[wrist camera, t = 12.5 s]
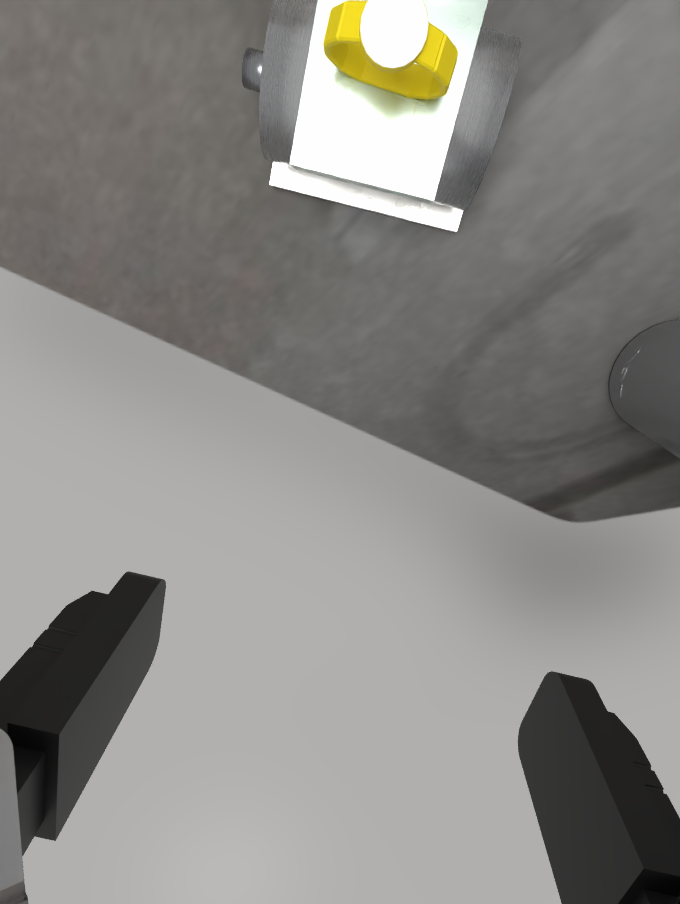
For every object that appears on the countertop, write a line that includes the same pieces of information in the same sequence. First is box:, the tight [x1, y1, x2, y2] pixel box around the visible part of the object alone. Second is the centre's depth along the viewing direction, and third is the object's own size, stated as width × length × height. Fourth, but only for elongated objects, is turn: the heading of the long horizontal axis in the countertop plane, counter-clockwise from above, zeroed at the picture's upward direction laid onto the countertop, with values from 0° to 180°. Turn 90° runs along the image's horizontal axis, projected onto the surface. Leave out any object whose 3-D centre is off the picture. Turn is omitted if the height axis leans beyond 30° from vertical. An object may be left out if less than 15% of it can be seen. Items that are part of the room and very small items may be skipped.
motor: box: [242, 0, 521, 233], centre depth 30 cm, size 16×11×13 cm
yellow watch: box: [323, 0, 458, 100], centre depth 23 cm, size 6×3×6 cm, turn 74°
